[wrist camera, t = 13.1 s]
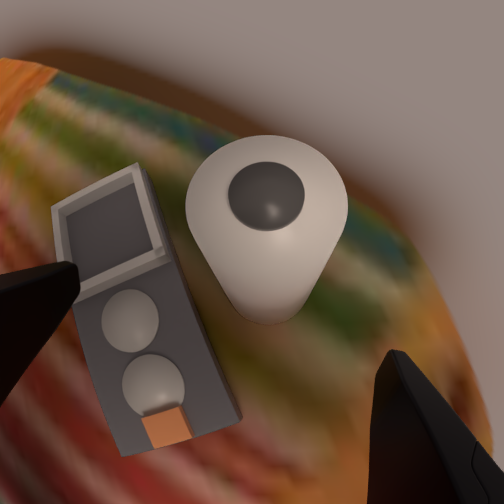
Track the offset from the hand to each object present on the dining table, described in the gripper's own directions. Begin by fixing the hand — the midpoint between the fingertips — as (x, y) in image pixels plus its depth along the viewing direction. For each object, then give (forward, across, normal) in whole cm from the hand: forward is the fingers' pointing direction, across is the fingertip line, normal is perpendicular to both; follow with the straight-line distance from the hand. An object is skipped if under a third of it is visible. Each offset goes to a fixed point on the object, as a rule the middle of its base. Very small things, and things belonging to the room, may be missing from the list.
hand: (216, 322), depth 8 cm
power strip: (+6, +6, +6) cm, 10 cm away
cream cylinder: (+8, 0, +4) cm, 9 cm away
